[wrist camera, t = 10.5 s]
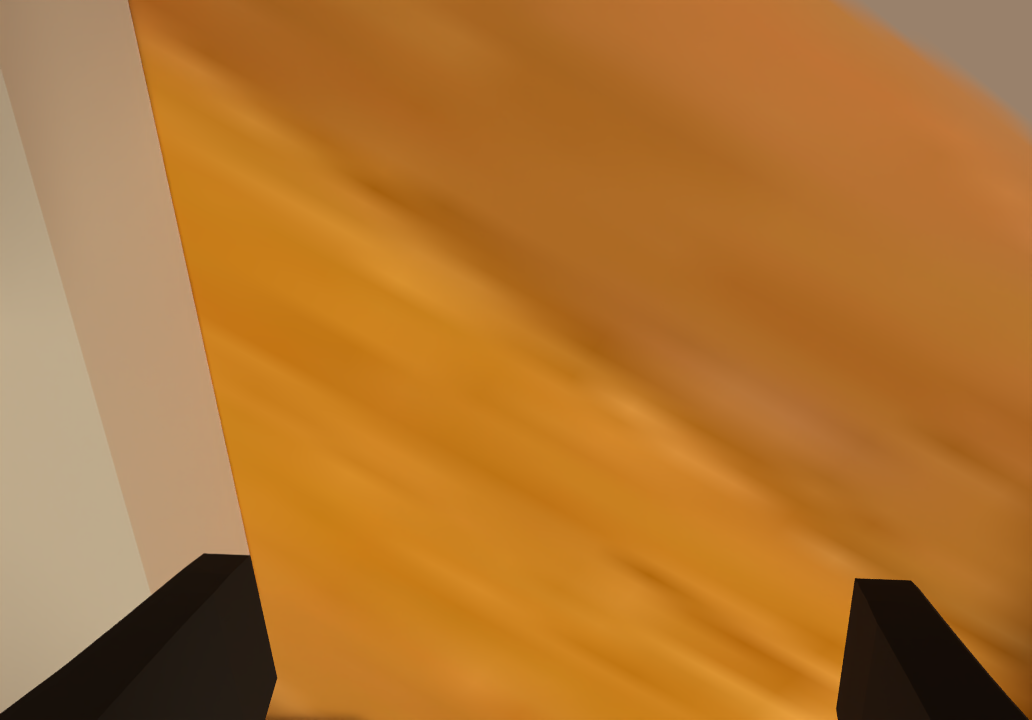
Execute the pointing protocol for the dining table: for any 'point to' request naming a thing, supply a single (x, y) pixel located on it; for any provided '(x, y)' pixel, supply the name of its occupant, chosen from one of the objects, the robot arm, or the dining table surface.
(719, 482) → the dining table surface
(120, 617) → the well block
